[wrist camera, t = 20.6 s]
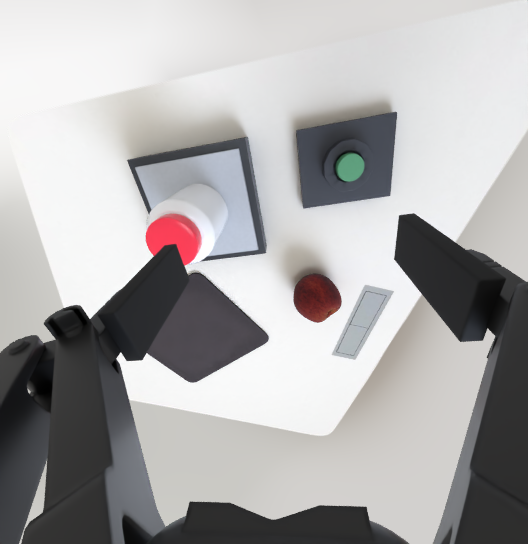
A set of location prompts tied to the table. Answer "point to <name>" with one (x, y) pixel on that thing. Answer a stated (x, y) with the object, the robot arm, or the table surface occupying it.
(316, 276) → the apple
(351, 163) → the green button
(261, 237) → the scale
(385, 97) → the table surface
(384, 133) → the button base
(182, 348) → the mouse pad
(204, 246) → the pill bottle
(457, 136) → the table surface
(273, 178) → the table surface
